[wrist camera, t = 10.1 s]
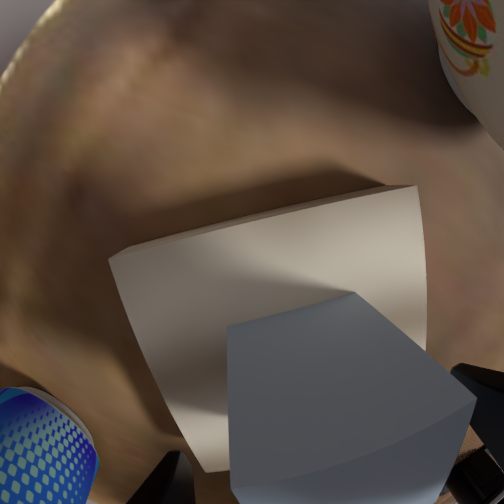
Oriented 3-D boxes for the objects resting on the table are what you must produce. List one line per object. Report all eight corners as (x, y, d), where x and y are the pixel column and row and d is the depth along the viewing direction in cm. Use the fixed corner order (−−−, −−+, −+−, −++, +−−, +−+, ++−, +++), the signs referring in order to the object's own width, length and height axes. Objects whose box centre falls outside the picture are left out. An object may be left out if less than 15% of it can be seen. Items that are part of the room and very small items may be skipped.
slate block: (362, 389, 12) (435, 502, 5) (256, 420, 12) (278, 556, 5) (355, 292, 11) (477, 397, 4) (226, 326, 11) (230, 488, 4)
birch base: (399, 388, 15) (418, 411, 13) (207, 442, 15) (205, 472, 12) (386, 185, 13) (416, 185, 10) (128, 246, 12) (107, 258, 10)
